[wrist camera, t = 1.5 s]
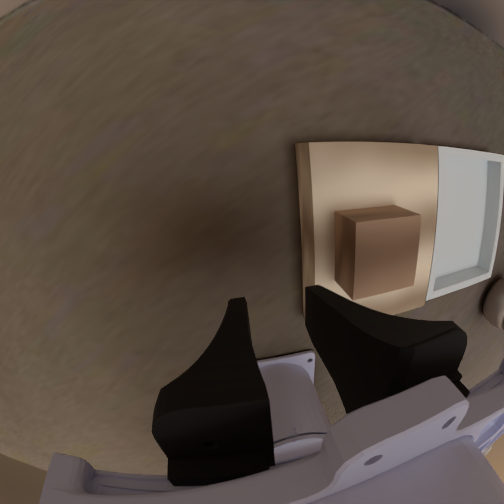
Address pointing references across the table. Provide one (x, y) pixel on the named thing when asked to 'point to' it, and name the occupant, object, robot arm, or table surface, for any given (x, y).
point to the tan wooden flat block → (365, 206)
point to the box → (465, 219)
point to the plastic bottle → (495, 305)
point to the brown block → (376, 250)
